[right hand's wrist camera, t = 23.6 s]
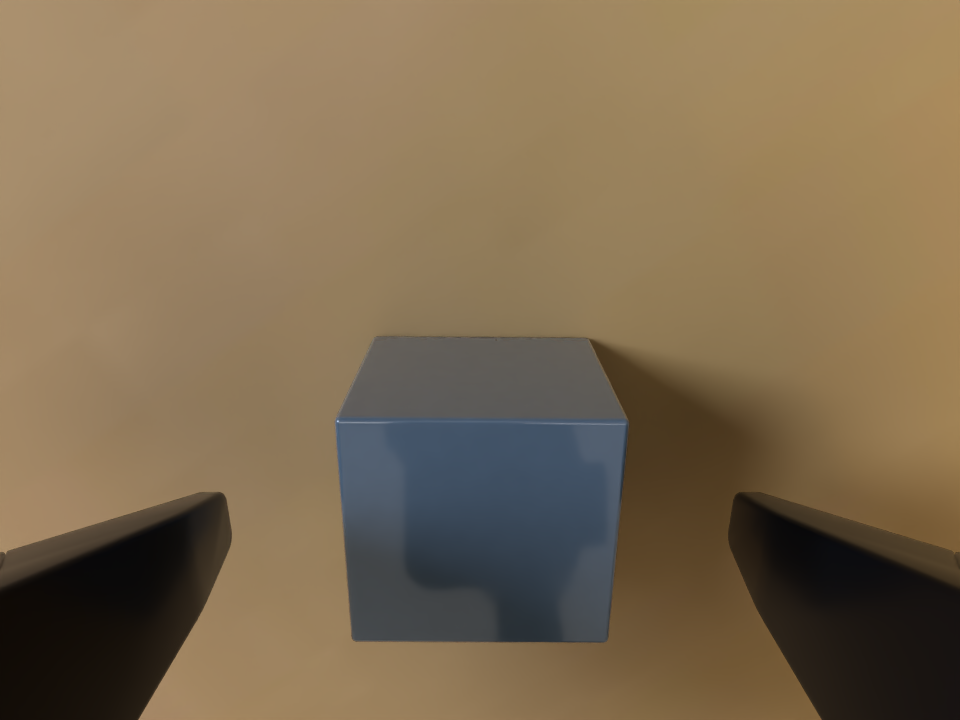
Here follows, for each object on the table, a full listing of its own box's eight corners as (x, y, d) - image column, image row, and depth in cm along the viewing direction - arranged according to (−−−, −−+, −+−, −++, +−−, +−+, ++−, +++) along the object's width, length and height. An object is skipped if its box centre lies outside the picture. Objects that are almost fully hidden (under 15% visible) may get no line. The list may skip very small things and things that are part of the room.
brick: (382, 513, 15) (350, 643, 12) (372, 335, 14) (332, 418, 10) (576, 514, 15) (609, 645, 12) (589, 336, 14) (631, 420, 10)
